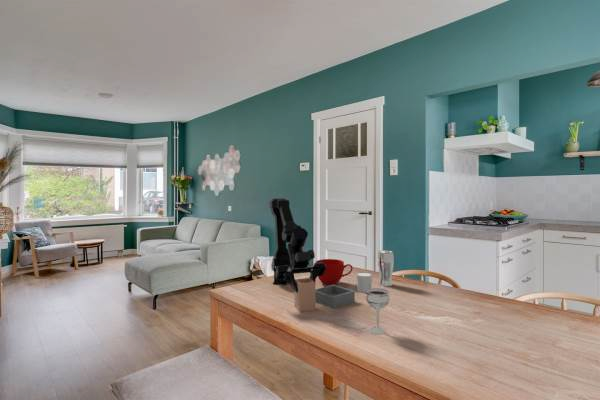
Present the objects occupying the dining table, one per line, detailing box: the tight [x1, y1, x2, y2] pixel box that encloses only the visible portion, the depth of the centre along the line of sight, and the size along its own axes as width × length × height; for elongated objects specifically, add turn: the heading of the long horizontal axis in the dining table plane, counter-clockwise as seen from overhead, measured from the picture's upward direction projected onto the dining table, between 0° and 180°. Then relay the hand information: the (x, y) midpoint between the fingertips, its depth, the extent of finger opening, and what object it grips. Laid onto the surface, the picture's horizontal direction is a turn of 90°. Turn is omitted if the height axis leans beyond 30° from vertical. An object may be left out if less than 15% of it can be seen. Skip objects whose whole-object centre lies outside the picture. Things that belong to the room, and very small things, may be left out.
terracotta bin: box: [293, 277, 316, 313], centre depth 121 cm, size 6×6×10 cm
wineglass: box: [365, 287, 390, 335], centre depth 101 cm, size 7×7×12 cm
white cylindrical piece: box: [355, 272, 373, 294], centre depth 141 cm, size 7×7×7 cm
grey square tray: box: [315, 284, 356, 309], centre depth 128 cm, size 12×12×4 cm
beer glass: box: [377, 249, 395, 288], centre depth 150 cm, size 7×7×15 cm
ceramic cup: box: [315, 258, 354, 286], centre depth 152 cm, size 13×17×10 cm
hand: (305, 291), depth 119 cm, fingers closed on terracotta bin, 6 cm apart
